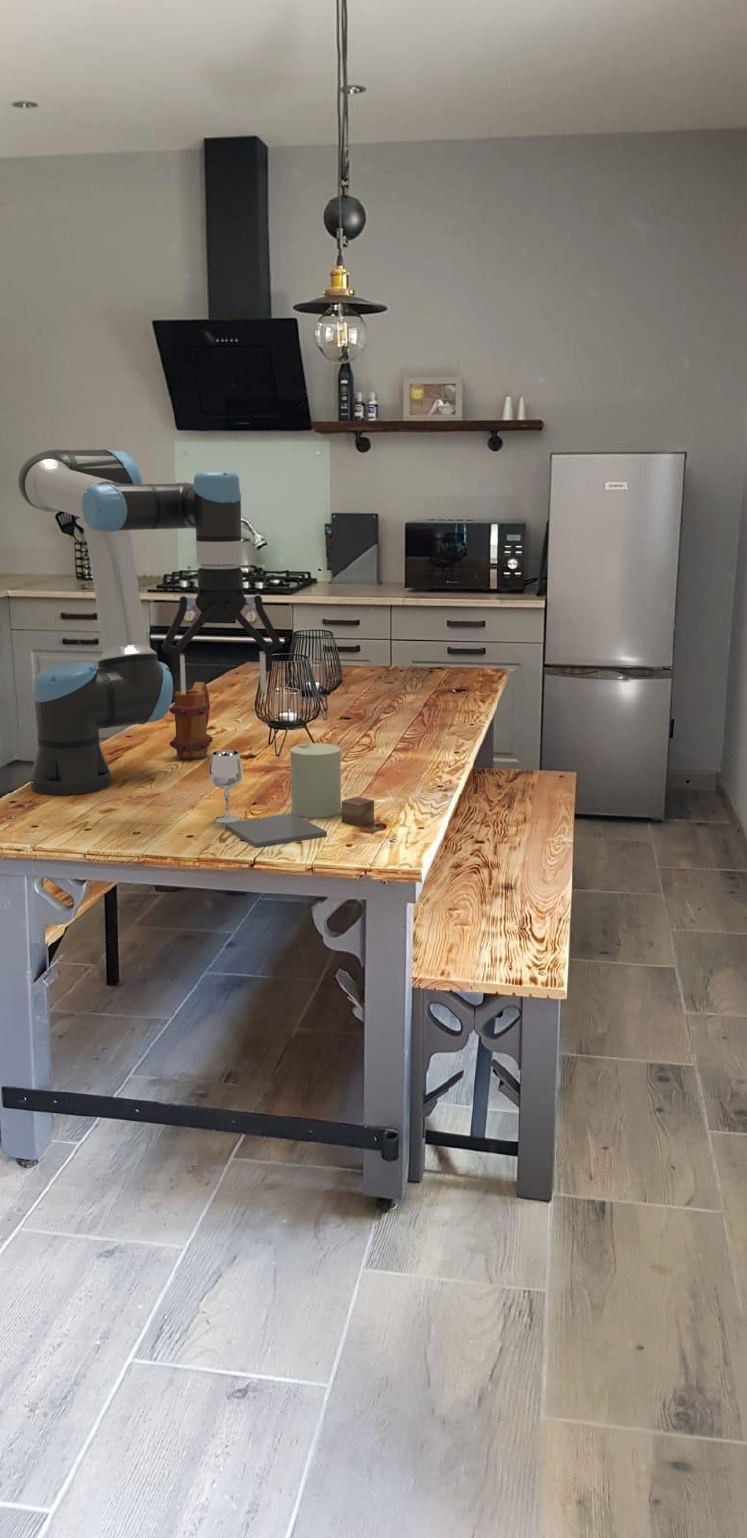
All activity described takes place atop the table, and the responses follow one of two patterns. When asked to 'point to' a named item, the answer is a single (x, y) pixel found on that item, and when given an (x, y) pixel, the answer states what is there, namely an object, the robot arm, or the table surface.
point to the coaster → (275, 830)
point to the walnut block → (358, 811)
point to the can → (316, 780)
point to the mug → (191, 722)
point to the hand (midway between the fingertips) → (223, 692)
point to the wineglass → (226, 777)
